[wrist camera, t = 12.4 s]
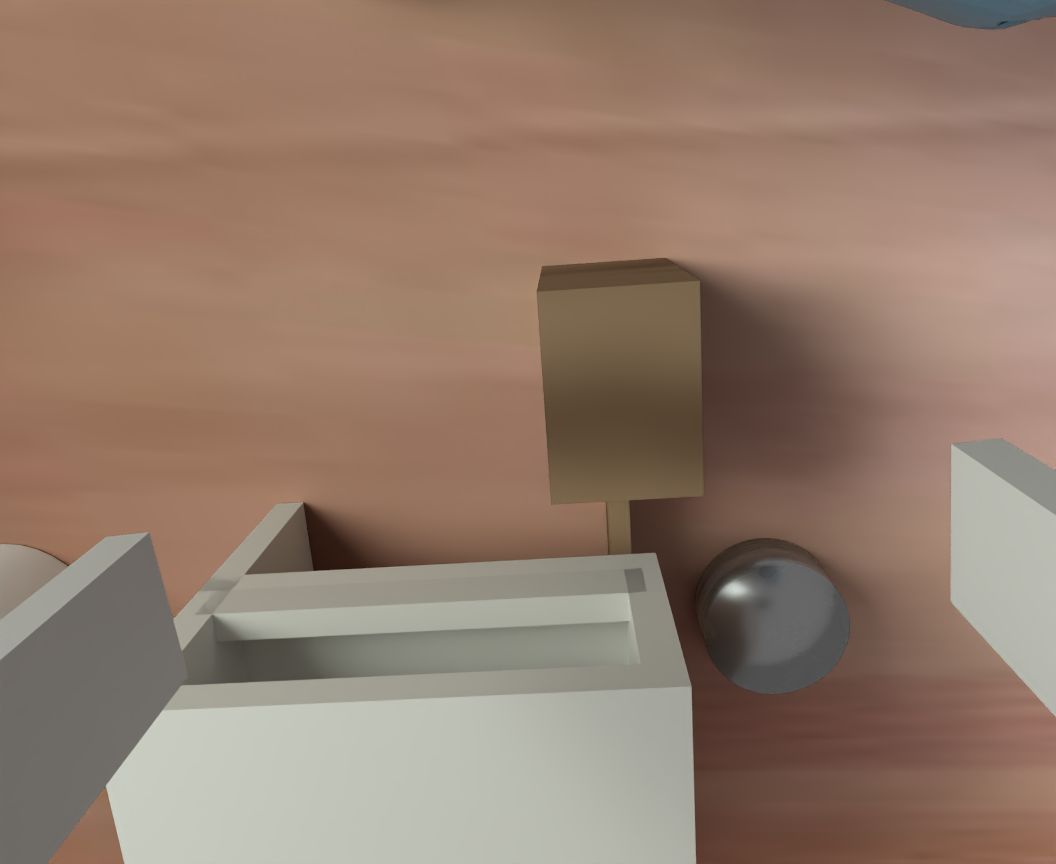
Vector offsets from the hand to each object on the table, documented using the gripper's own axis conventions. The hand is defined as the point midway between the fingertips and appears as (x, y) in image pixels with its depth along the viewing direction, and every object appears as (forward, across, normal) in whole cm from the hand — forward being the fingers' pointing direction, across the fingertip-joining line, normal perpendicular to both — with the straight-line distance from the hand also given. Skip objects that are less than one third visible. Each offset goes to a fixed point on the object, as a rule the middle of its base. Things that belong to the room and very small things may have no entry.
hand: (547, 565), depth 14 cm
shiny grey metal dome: (+23, +8, -13) cm, 27 cm away
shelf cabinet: (+22, -6, -18) cm, 29 cm away
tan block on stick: (+23, +2, -7) cm, 24 cm away
